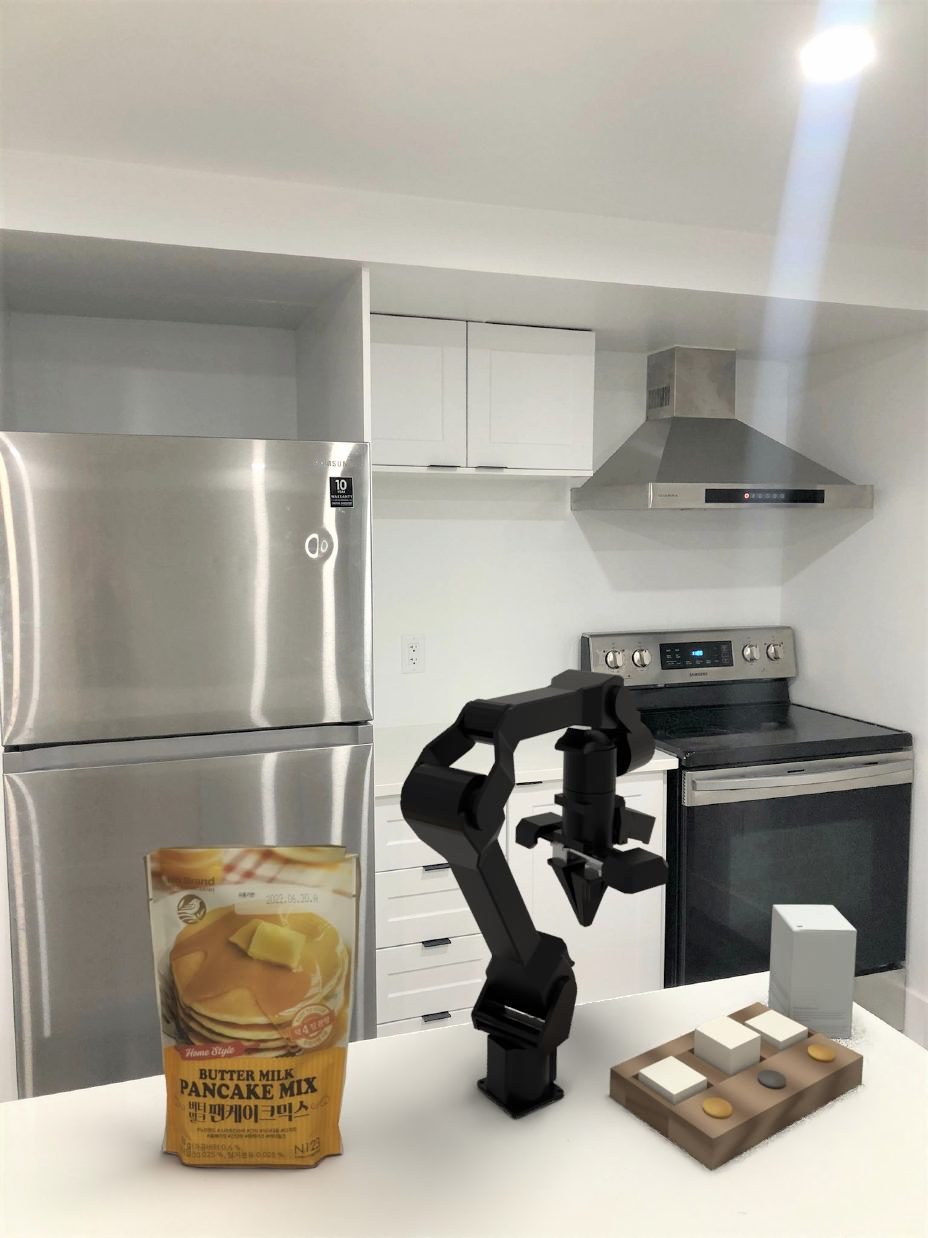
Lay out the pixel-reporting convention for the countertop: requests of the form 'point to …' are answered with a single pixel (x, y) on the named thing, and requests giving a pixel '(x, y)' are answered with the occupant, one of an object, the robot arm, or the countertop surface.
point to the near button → (672, 1080)
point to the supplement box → (813, 967)
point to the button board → (739, 1092)
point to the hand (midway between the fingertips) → (585, 925)
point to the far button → (778, 1030)
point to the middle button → (727, 1045)
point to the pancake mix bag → (254, 998)
